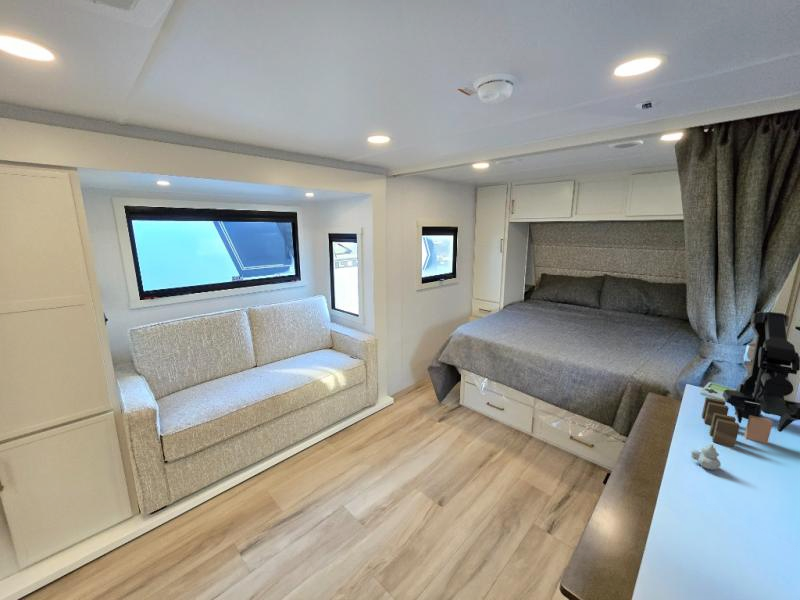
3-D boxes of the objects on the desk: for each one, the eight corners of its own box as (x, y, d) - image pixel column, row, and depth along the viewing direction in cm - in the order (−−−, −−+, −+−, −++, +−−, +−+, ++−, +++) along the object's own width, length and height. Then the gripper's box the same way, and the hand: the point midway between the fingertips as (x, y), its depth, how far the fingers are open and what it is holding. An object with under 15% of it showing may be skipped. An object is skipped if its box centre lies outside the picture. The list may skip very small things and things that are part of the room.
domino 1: (701, 416, 122) (705, 397, 120) (719, 420, 119) (724, 400, 117) (702, 418, 121) (706, 398, 119) (720, 422, 118) (725, 402, 116)
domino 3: (709, 433, 112) (713, 412, 110) (729, 438, 109) (734, 417, 108) (710, 435, 111) (715, 414, 109) (730, 440, 108) (735, 419, 106)
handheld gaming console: (699, 391, 137) (709, 381, 146) (699, 394, 138) (708, 384, 146) (732, 401, 129) (740, 389, 138) (732, 404, 130) (740, 393, 138)
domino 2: (703, 421, 119) (708, 401, 117) (722, 425, 116) (727, 405, 114) (705, 423, 117) (709, 403, 115) (723, 428, 115) (728, 407, 113)
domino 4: (712, 439, 109) (717, 418, 107) (732, 444, 106) (738, 423, 104) (713, 442, 107) (718, 420, 106) (734, 447, 105) (739, 425, 103)
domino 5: (744, 436, 110) (749, 415, 108) (765, 441, 108) (771, 419, 106) (745, 438, 109) (751, 417, 107) (767, 443, 106) (773, 422, 104)
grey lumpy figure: (718, 476, 93) (724, 452, 91) (688, 465, 98) (693, 441, 96) (719, 466, 97) (724, 442, 95) (689, 455, 101) (694, 433, 100)
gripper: (737, 386, 102) (726, 430, 106) (828, 403, 92) (813, 450, 96) (727, 373, 111) (717, 413, 115) (809, 386, 101) (796, 430, 105)
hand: (758, 426), depth 107 cm, fingers open, 9 cm apart
